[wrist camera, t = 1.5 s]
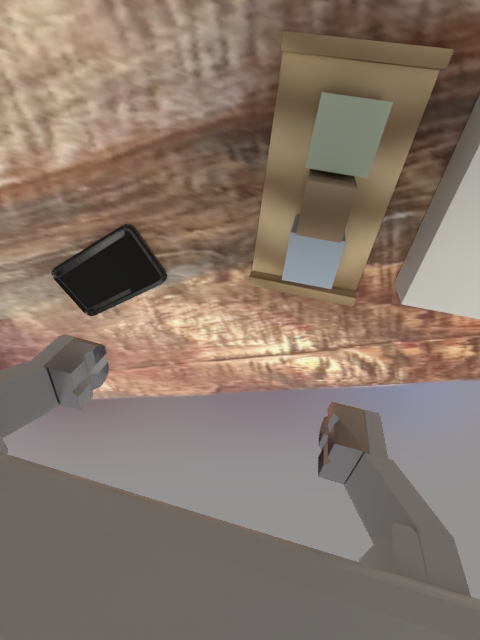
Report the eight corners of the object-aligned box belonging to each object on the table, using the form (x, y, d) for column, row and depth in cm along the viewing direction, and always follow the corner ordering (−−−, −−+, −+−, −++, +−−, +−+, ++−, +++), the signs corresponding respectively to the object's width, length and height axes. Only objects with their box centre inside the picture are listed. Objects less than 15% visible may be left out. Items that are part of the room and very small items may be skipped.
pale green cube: (322, 92, 24) (321, 92, 20) (383, 100, 23) (393, 102, 20) (308, 157, 27) (305, 167, 23) (362, 166, 26) (367, 178, 22)
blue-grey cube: (295, 215, 30) (290, 232, 26) (343, 223, 29) (345, 241, 25) (287, 259, 32) (281, 279, 29) (331, 267, 32) (331, 289, 28)
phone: (48, 272, 41) (126, 223, 34) (54, 268, 42) (131, 219, 35) (89, 318, 44) (168, 282, 38) (94, 314, 45) (172, 277, 39)
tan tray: (288, 37, 24) (273, 18, 18) (438, 54, 23) (481, 40, 16) (254, 270, 36) (238, 308, 30) (351, 289, 35) (356, 333, 28)
